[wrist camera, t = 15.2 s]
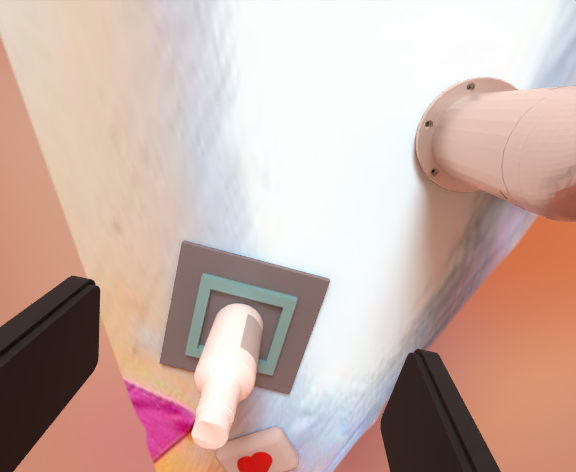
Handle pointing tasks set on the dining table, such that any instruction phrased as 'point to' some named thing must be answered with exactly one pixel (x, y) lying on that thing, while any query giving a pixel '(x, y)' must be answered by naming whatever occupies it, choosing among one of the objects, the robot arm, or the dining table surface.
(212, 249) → the dock
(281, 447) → the icon
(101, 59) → the dining table surface
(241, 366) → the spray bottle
